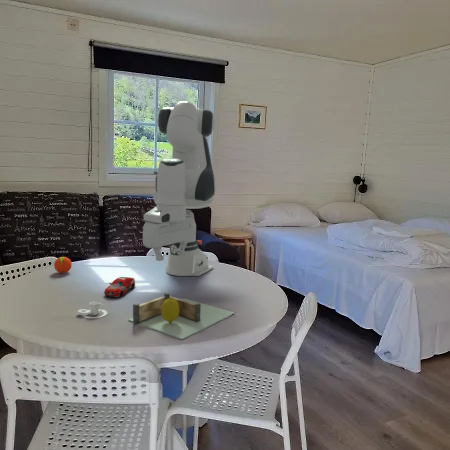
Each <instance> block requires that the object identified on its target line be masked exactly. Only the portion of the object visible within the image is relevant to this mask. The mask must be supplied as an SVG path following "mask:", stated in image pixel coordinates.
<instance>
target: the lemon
mask: <svg viewBox="0 0 450 450" xmlns="http://www.w3.org/2000/svg"><path fill="white" fill-rule="evenodd" d="M161 315H162V317H163V319H164V320H166V321H168V322H169V323H171V322H172V321H174V320H176V319H177V317H178V315H179V305H178V303H177V301H176V300H174V299H172V298H169V299H166V300H165V301H164V302H163V304H162V307H161Z"/></svg>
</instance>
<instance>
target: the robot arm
mask: <svg viewBox="0 0 450 450" xmlns="http://www.w3.org/2000/svg"><path fill="white" fill-rule="evenodd" d="M156 124H157V128H158V131H159V132H160V133H161V134H163V135H166V139H167V141H168V143H169V145H171V147H172V157H170V158H164V159H161V160H160V161H159V163H158V168H157V174H156V175H155V188H154V190H153V193H152V198H153V202H154V204H155V205H156V206H155V207H153V208H151V209H150V210H149V211H147V212H145V213H144V214H143V221H145V223H144V224H143V227H142V243H143V245H144V247H145V248H148V249H152V250H153V252H154V254H155V261H158V262H161V261H164V258H165V257H164V254H162V252H161V251H162V247H164V246H168V249H169V251H168V256H167V263H166V265H165V273H167V274H168V275H172V276H175V277H177V276H179V277H189V276H190V277H191V276H192V277H193V276H194V277H199V276H201V275H203V274H205V273H207V272H210V270H213V269H214V265H212V264H209V259H208V256H207V254H206V253H204V251H202V250H201V249H200V248H199V245H200V246H202V244H203V240H201V239H200V240H199V239H197V238H196V236H197V224H196V220H195V216H194V215H195V214H194V213H193V211H192V210H193V209H203V208H208V207H210V206H211V204H212V203H213V201H214V197H215V194H216V189H217V181H216V177H215V174H214V171H213V170H214V169H213V166H212V160H211V153H210V146H209V143H208V140H207V137H210V135H211V134H212V133H213V131H214V129H215V126H216V121H215V117H214V113H213V112H212V111H211V110H209V109H206V108H203V109H202V108H198V107H196V106H195V105H194V104H193V103H192V102H189V101H184V100H183V101H179V102H177V103H175V105H174V106H165V107H162V108H161V109H160V110H159V112H158V114H157V117H156ZM191 209H192V210H191ZM196 239H197V240H196Z"/></svg>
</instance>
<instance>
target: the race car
mask: <svg viewBox="0 0 450 450" xmlns="http://www.w3.org/2000/svg"><path fill="white" fill-rule="evenodd" d="M108 283H109V285H108V286H107V287H106V288H105V289H104V296H105V297H110V298H122V297H123V295H125V294H127V293H128V292H130V291H132V290H133V289H134V288H135V287H136V280H135V278H134V277H129V276H127V277H126V276H119V277H116V278H115V279H114V280H113V281H112V282H108Z"/></svg>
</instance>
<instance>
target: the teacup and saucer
mask: <svg viewBox="0 0 450 450" xmlns="http://www.w3.org/2000/svg"><path fill="white" fill-rule="evenodd" d="M100 306H102V307H101V308H100ZM101 312H102V313H103V314H101V315H100V316H99V315H98V314H99V313H101ZM76 313H77V315H78V316H81V317H83V318H85V319H100V318H103V317H106V315H108V311H107V310H105V309H104V304H103V303H100V301H96V300H95V301H90V302H89V309H84V308H83V309H82V308H81V309H78V310H77V312H76ZM88 315H91V316H88ZM96 315H98V316H96ZM92 316H93V317H92ZM94 316H95V317H94Z"/></svg>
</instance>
